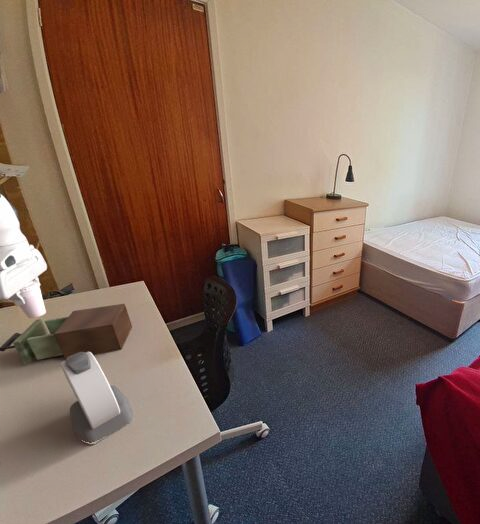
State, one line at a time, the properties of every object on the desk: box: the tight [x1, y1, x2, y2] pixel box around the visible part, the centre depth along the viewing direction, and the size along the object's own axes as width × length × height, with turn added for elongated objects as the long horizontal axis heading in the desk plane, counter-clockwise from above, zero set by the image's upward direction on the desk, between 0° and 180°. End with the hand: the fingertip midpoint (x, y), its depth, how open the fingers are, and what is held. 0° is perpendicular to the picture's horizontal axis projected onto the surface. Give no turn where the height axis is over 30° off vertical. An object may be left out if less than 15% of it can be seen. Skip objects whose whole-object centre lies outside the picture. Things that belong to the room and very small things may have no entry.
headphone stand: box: [60, 352, 133, 443], centre depth 63 cm, size 16×10×18 cm, turn 53°
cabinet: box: [54, 303, 133, 360], centre depth 89 cm, size 14×13×10 cm
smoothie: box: [19, 280, 47, 319], centre depth 78 cm, size 6×6×14 cm
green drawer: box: [0, 316, 69, 365], centre depth 85 cm, size 17×11×8 cm, turn 113°
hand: (28, 298), depth 79 cm, fingers closed on smoothie, 5 cm apart
